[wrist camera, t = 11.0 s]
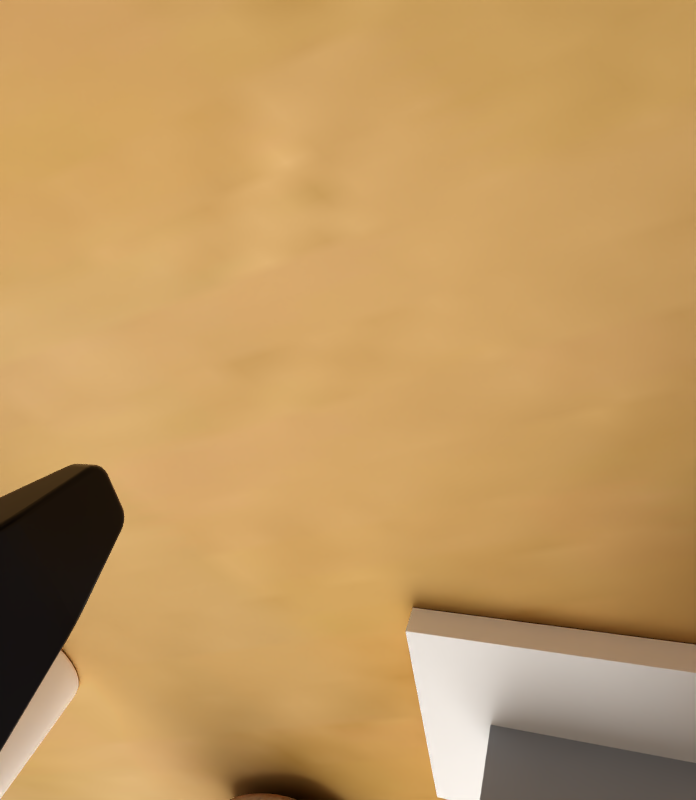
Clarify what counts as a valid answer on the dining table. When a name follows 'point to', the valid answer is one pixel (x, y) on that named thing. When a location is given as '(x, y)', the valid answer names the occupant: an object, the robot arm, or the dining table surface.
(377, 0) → the dining table surface
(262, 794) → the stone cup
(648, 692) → the ridge
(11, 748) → the bottle
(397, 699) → the dining table surface
